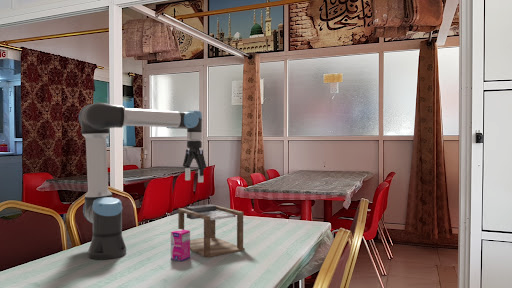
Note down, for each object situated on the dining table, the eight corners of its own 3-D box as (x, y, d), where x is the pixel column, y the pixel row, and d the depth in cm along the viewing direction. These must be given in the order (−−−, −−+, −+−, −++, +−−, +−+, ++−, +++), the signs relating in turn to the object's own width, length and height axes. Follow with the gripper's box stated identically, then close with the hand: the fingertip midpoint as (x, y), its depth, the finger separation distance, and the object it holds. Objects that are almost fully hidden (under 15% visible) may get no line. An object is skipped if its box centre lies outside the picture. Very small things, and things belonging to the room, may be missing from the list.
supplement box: (170, 259, 161) (170, 231, 161) (179, 255, 166) (179, 228, 166) (181, 261, 158) (181, 233, 158) (190, 257, 163) (190, 230, 163)
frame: (177, 243, 185) (177, 208, 185) (212, 237, 197) (212, 204, 197) (207, 257, 163) (207, 217, 163) (244, 250, 175) (244, 212, 175)
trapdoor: (184, 217, 184) (184, 207, 184) (212, 214, 193) (212, 204, 193) (207, 225, 167) (207, 213, 167) (236, 221, 176) (236, 210, 176)
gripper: (213, 140, 198) (213, 182, 198) (189, 140, 218) (188, 178, 218) (200, 140, 193) (200, 183, 193) (176, 140, 213) (176, 179, 213)
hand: (194, 181), depth 206 cm, fingers open, 13 cm apart
